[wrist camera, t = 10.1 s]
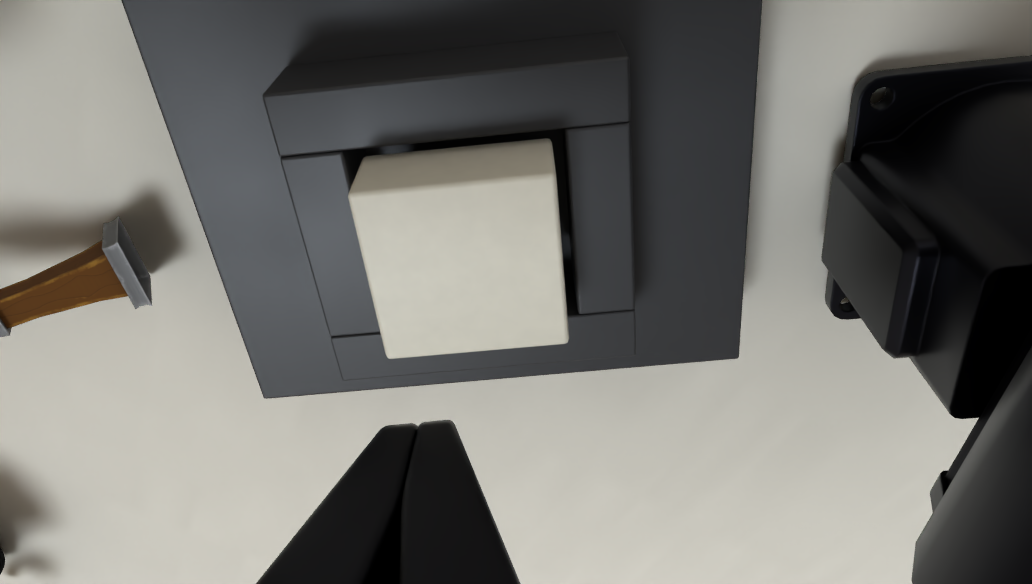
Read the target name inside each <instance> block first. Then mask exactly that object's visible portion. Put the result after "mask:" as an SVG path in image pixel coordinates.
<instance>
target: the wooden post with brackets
mask: <svg viewBox="0 0 1032 584" xmlns="http://www.w3.org/2000/svg"><path fill="white" fill-rule="evenodd" d="M126 296H129V298H130V300H131V302H132V304H133V305H134V307H135V309H137V308H138V307H139V306H143V305H150V306H152V297H151V279H150V274H149V273H148V271H147V269H146V267H145V265H144V263H143V261H142V259H141V258H140V256H139V254H138V252H137V250H136V248H135V246H134V244H133V242H132V241H131V239H130V237H129V235H128V233H127V231H126V229H125V227H124V226H123V224H122V222H121V220H120V218H119V216H118V217H117V218H116V219H115V220H113V221H111V222H109V223H104V227H103V240H101V241H100V242H98V243H97V244H95V245H93V246H92V247H90V248H88V249H87V250H85V251H83V252H81V253H79V254H77V255H75V256H73V257H71V258H69V259H67V260H65V261H63V262H61V263H59V264H57V265H55V266H53V267H51V268H48V269H46V270H44V271H42V272H40V273H38V274H36V275H34V276H32V277H30V278H28V279H26V280H23V281H20V282H18V283H15V284H13V285H10V286H7V287H5V288H2V289H0V337H4V336H9V335H10V332H11V328H12V327H14V326H16V325H19V324H22V323H25V322H28V321H30V320H33V319H36V318H39V317H42V316H46V315H50V314H54V313H57V312H61V311H65V310H69V309H72V308H76V307H80V306H84V305H87V304H91V303H95V302H99V301H103V300H109V299H114V298H120V297H126Z"/></svg>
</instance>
